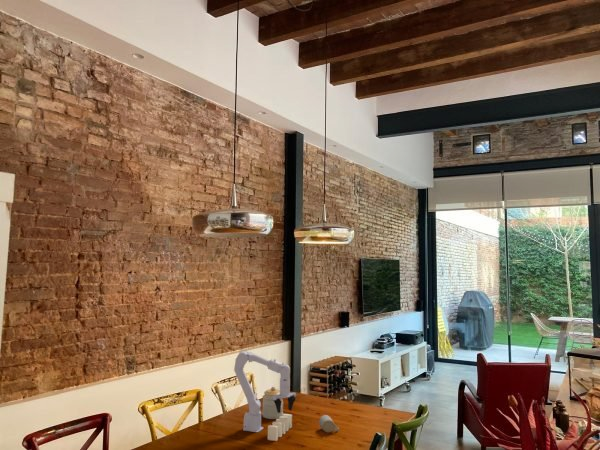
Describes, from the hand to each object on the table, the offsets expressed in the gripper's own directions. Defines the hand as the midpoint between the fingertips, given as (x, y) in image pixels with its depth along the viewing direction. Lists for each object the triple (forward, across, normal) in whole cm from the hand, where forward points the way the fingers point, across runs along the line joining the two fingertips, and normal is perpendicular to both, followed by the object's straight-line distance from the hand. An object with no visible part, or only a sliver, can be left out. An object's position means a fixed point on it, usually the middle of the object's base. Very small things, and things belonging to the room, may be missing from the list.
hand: (284, 411), depth 261 cm
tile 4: (+10, -8, -6) cm, 14 cm away
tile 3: (+10, -4, -3) cm, 11 cm away
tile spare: (+10, -13, -9) cm, 19 cm away
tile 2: (+10, 0, 0) cm, 10 cm away
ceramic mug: (+11, +21, -14) cm, 28 cm away
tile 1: (+10, +4, +3) cm, 11 cm away
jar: (+10, +8, +24) cm, 28 cm away
